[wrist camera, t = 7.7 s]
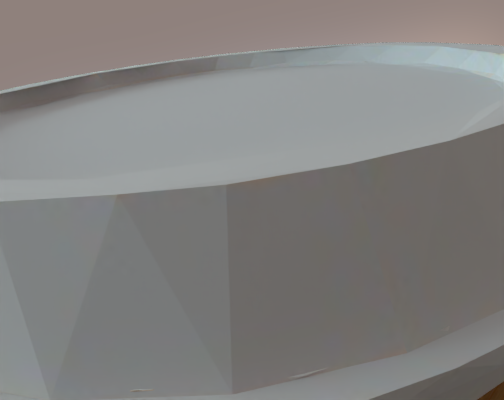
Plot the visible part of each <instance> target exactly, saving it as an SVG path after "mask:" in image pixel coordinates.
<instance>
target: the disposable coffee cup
mask: <svg viewBox="0 0 504 400" xmlns="http://www.w3.org/2000/svg"><path fill="white" fill-rule="evenodd" d="M0 400H504V46H499V45H481V44H457V43H365V44H344V45H325V46H313V47H298V48H284V49H272V50H262V51H251V52H241V53H231V54H220V55H212V56H204V57H195V58H188V59H179V60H172V61H165V62H157V63H150V64H144V65H137V66H130V67H125V68H119V69H112V70H106V71H101V72H94V73H88V74H82V75H76V76H70V77H65V78H60V79H55V80H50V81H44V82H39V83H34V84H29V85H25V86H20V87H15V88H10V89H6V90H1V91H0Z"/></svg>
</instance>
